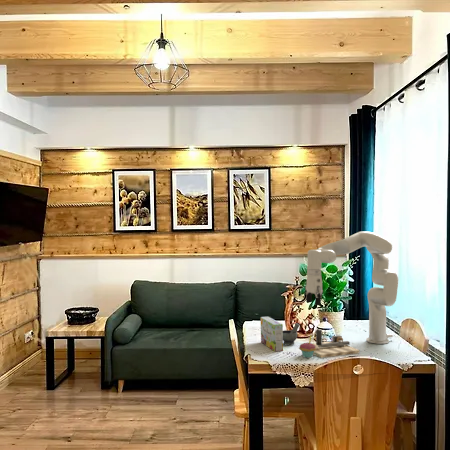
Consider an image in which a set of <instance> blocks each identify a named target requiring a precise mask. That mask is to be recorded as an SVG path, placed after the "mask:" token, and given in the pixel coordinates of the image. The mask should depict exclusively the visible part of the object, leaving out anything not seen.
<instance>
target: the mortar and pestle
mask: <svg viewBox="0 0 450 450" xmlns="http://www.w3.org/2000/svg"><path fill="white" fill-rule="evenodd" d="M300 326H301V325H300V324H299V323H297V322H296V323H295V324H294V326H293V328H292V329H288V330H287V329H285V330H283V346H295V341H296V340H297V338H298V329H299V327H300Z"/></svg>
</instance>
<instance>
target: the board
mask: <svg viewBox="0 0 450 450" xmlns="http://www.w3.org/2000/svg"><path fill="white" fill-rule="evenodd" d="M324 343H334V342H332V340H331V341H324V342H323V341H322V344H324ZM312 344H313V345H315V347H316V350H315V351H314V352H313V355H314V356H317V357H319V358H322V359H323V358H328V357H336V356H337V357H338V356H346V355H347V356H348V355H353V354H354V355H356V354H360V353H361V352H360V349H358V348H356V347H353V346H350V345H341V346H332V347H323V348H319V347H318V345H316V342H314V343H312Z"/></svg>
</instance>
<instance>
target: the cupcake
mask: <svg viewBox="0 0 450 450" xmlns="http://www.w3.org/2000/svg"><path fill="white" fill-rule="evenodd" d="M311 341H312V334H310V336H309V340H308V341H307V342H303V343H301V344H299V348H298V349H299V350H300V351H301V353H302V356H303V357H304V358H312V357H313V355H314V354H313V352H314V351H315V350H316V347H315V345H313V344H312V343H311Z"/></svg>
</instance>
